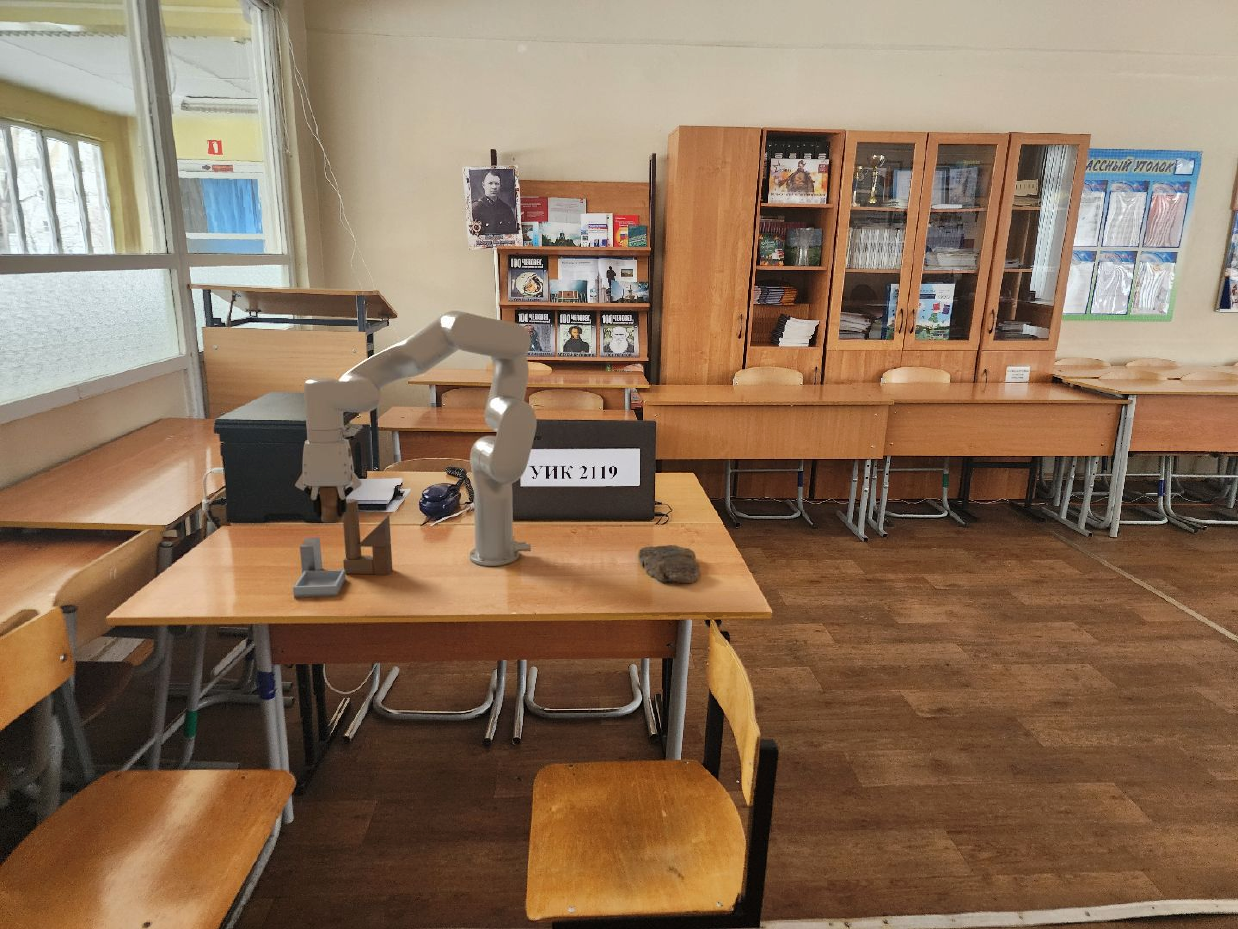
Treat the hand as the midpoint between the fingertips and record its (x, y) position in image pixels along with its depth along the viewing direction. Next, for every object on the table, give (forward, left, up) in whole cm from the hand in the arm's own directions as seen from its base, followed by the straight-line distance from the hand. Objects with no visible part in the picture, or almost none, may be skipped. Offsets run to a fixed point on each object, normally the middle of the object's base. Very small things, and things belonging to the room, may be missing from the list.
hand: (330, 514), depth 167 cm
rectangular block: (+8, -9, -18) cm, 22 cm away
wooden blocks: (-5, -9, -18) cm, 21 cm away
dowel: (0, 0, -1) cm, 1 cm away
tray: (+4, 0, -18) cm, 18 cm away
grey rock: (-79, -4, -18) cm, 81 cm away
